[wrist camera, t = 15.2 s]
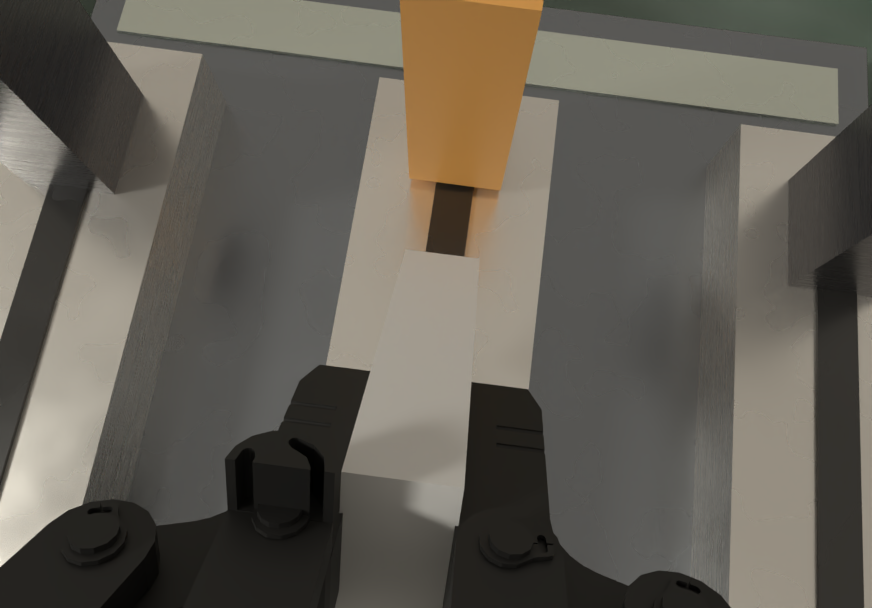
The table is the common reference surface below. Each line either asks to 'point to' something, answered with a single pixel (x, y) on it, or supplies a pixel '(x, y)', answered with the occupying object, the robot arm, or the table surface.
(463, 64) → the breaker handle
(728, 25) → the table surface
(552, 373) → the breaker panel
